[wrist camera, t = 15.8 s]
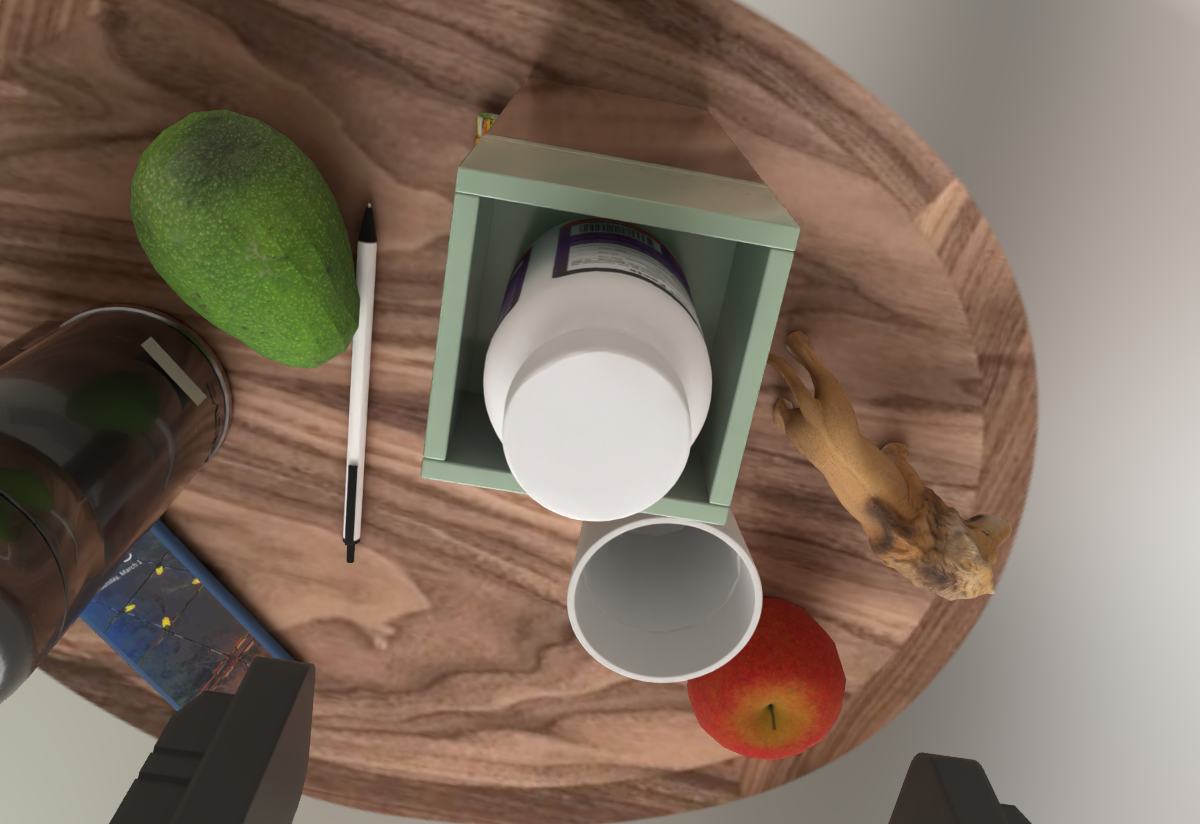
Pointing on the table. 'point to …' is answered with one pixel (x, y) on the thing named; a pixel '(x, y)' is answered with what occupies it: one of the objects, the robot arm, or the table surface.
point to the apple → (773, 687)
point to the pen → (360, 384)
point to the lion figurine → (886, 488)
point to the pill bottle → (597, 370)
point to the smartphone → (177, 622)
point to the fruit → (248, 236)
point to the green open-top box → (625, 193)
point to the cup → (663, 595)
